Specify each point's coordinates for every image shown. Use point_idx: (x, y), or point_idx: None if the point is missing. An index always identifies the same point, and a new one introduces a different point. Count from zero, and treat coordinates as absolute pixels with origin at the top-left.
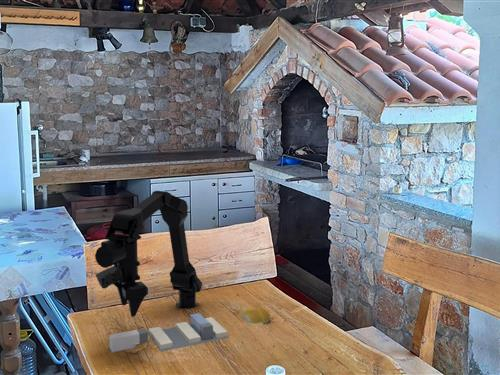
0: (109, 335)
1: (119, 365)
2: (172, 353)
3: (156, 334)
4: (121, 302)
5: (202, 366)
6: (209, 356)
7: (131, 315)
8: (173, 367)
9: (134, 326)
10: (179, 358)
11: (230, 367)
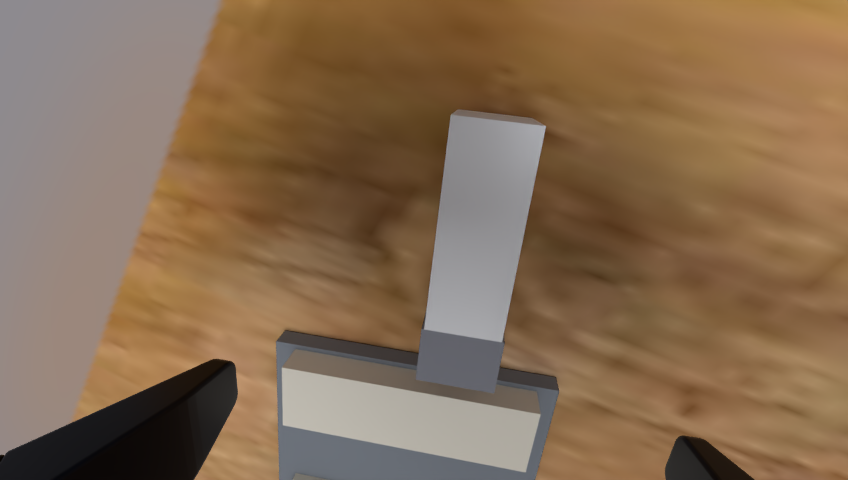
0: (531, 125)
1: (260, 86)
2: None
3: (429, 411)
4: (727, 466)
5: None
6: None
7: (198, 366)
8: (141, 316)
9: (738, 380)
10: None
11: None
